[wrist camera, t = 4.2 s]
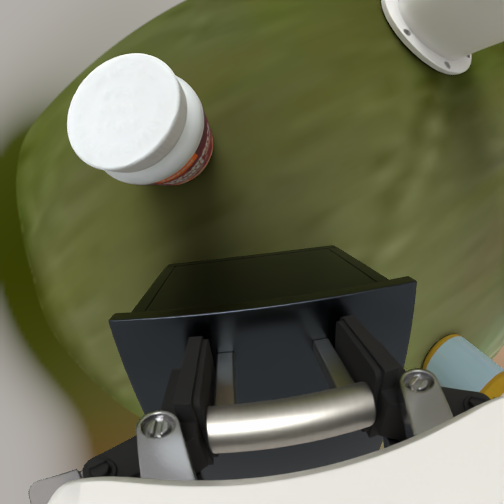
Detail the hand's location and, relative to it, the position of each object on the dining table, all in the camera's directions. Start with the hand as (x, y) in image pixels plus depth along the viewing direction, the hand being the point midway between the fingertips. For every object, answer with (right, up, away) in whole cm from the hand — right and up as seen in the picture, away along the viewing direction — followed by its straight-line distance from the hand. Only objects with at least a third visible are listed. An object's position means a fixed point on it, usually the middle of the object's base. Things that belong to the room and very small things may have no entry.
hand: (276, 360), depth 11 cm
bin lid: (0, -5, +3) cm, 6 cm away
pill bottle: (-7, +13, +9) cm, 17 cm away
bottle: (+22, -9, +16) cm, 29 cm away
